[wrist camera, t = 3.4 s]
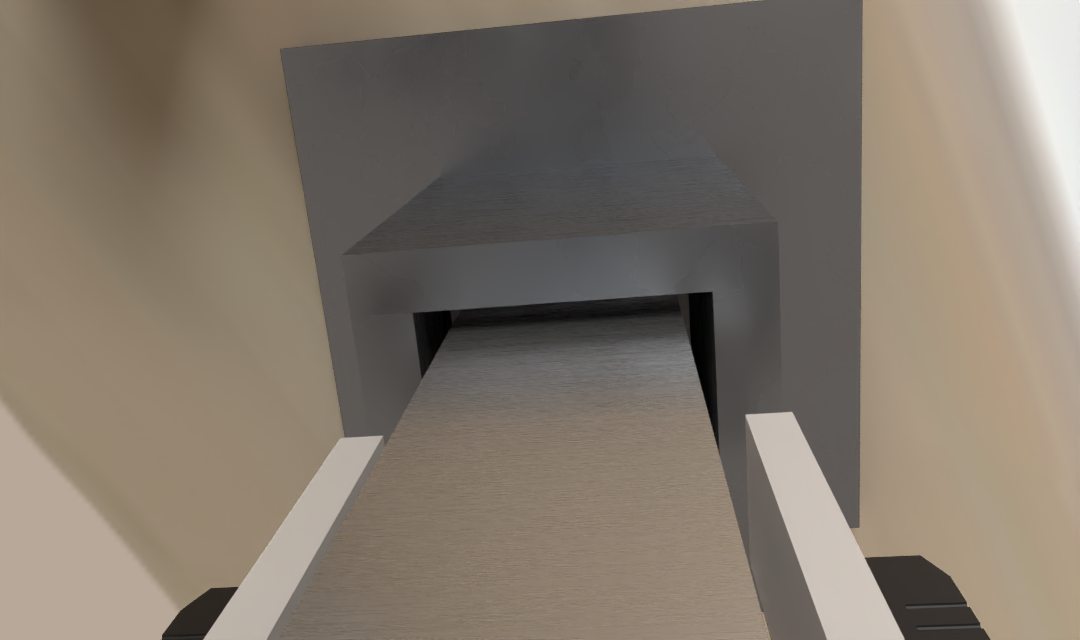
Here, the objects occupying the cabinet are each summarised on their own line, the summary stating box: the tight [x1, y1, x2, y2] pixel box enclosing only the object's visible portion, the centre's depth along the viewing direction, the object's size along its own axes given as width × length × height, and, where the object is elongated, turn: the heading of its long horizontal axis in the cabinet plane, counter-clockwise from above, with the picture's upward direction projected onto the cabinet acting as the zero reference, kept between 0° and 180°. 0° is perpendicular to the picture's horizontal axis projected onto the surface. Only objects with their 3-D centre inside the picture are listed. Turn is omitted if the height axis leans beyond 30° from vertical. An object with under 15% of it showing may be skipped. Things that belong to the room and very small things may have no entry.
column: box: [279, 293, 769, 640], centre depth 17 cm, size 5×5×22 cm
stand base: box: [280, 0, 862, 612], centre depth 23 cm, size 16×16×12 cm
